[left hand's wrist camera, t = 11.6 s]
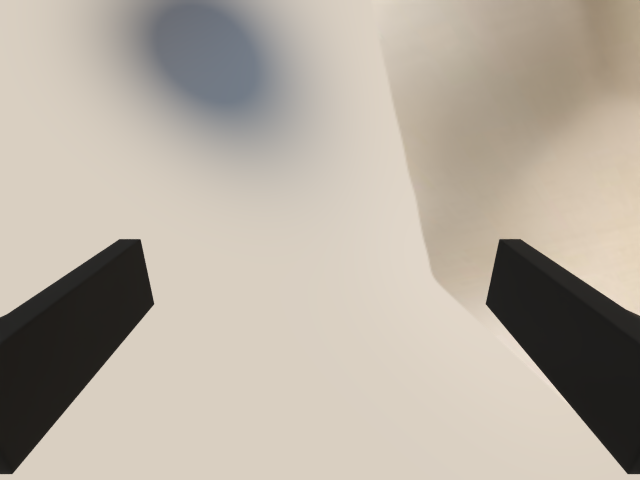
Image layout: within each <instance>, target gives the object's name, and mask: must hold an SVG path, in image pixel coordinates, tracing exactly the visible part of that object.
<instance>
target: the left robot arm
mask: <svg viewBox="0 0 640 480" xmlns="http://www.w3.org/2000/svg"><path fill="white" fill-rule="evenodd" d="M153 305H154V301H153V296H152V291H151V287H150V282H149V277H148V273H147V268H146V263H145V258H144V254H143V249H142V244H141V240H140V239H119V240H118V241H116V242H115V243H113V244H112V245H110V246H109V247H107V248H106V249H104V250H103V251H101V252H100V253H98V254H97V255H95V256H94V257H92V258H91V259H89V260H88V261H86V262H85V263H83V264H82V265H80V266H79V267H77V268H76V269H74V270H73V271H71V272H70V273H68V274H67V275H65V276H64V277H62V278H61V279H59V280H58V281H56V282H55V283H53V284H52V285H50V286H49V287H47V288H46V289H44V290H43V291H41V292H40V293H38V294H37V295H35V296H34V297H32V298H31V299H29V300H28V301H26V302H25V303H23V304H22V305H20V306H19V307H17V308H16V309H14V310H13V311H11V312H10V313H8V314H7V315H5V316H2V317H0V474H13V473H14V471H15V470H16V469H17V468H18V467H19V465H20V464H21V463H22V462H23V461H24V459H25V458H26V457H27V456H28V455H29V453H30V452H31V451H32V450H33V449H34V447H35V446H36V445H37V444H38V443H39V441H40V440H41V439H42V438H43V437H44V435H45V434H46V433H47V432H48V431H49V429H50V428H51V427H52V426H53V425H54V423H55V422H56V421H57V420H58V419H59V417H60V416H61V415H62V414H63V413H64V411H65V410H66V409H67V408H68V407H69V405H70V404H71V403H72V402H73V401H74V400H75V398H76V397H77V396H78V395H79V394H80V392H81V391H82V390H83V389H84V388H85V386H86V385H87V384H88V383H89V382H90V380H91V379H92V378H93V377H94V376H95V374H96V373H97V372H98V371H99V370H100V368H101V367H102V366H103V365H104V364H105V362H106V361H107V360H108V359H109V358H110V356H111V355H112V354H113V353H114V352H115V350H116V349H117V348H118V347H119V346H120V344H121V343H122V342H123V341H124V340H125V338H126V337H127V336H128V335H129V334H130V332H131V331H132V330H133V329H134V328H135V326H136V325H137V324H138V323H139V322H140V320H141V319H142V318H143V317H144V316H145V314H146V313H147V312H148V311H149V310H150V308H151V307H152V306H153ZM486 305H487V306H488V307H489V308H490V310H491V311H492V312H493V313H494V314H495V316H496V317H497V318H498V319H499V320H500V322H501V323H502V324H503V325H504V326H505V328H506V329H507V330H508V331H509V332H510V334H511V335H512V336H513V337H514V338H515V340H516V341H517V342H518V343H519V344H520V346H521V347H522V348H523V349H524V350H525V352H526V353H527V354H528V355H529V356H530V358H531V359H532V360H533V361H534V362H535V364H536V365H537V366H538V367H539V368H540V370H541V371H542V372H543V373H544V374H545V376H546V377H547V378H548V379H549V380H550V382H551V383H552V384H553V385H554V386H555V388H556V389H557V390H558V391H559V392H560V394H561V395H562V396H563V397H564V398H565V400H566V401H567V402H568V403H569V404H570V405H571V407H572V408H573V409H574V410H575V411H576V413H577V414H578V415H579V416H580V417H581V419H582V420H583V421H584V422H585V423H586V425H587V426H588V427H589V428H590V429H591V431H592V432H593V433H594V434H595V435H596V437H597V438H598V439H599V440H600V441H601V443H602V444H603V445H604V446H605V447H606V449H607V450H608V451H609V452H610V453H611V455H612V456H613V457H614V458H615V459H616V461H617V462H618V463H619V464H620V465H621V467H622V468H623V469H624V470H625V471H626V473H627V474H640V316H639V315H637V314H634V313H632V312H630V311H628V310H626V309H624V308H623V307H621V306H620V305H618V304H617V303H615V302H614V301H612V300H611V299H609V298H608V297H606V296H605V295H603V294H602V293H600V292H599V291H597V290H596V289H594V288H593V287H591V286H590V285H588V284H587V283H585V282H584V281H582V280H581V279H579V278H578V277H576V276H575V275H573V274H572V273H570V272H569V271H567V270H566V269H564V268H563V267H561V266H560V265H558V264H557V263H555V262H554V261H552V260H551V259H549V258H548V257H546V256H545V255H543V254H542V253H540V252H539V251H537V250H536V249H534V248H533V247H531V246H530V245H528V244H527V243H525V242H524V241H522V240H521V239H499V244H498V249H497V253H496V258H495V263H494V268H493V272H492V277H491V282H490V287H489V291H488V296H487V301H486Z"/></svg>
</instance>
